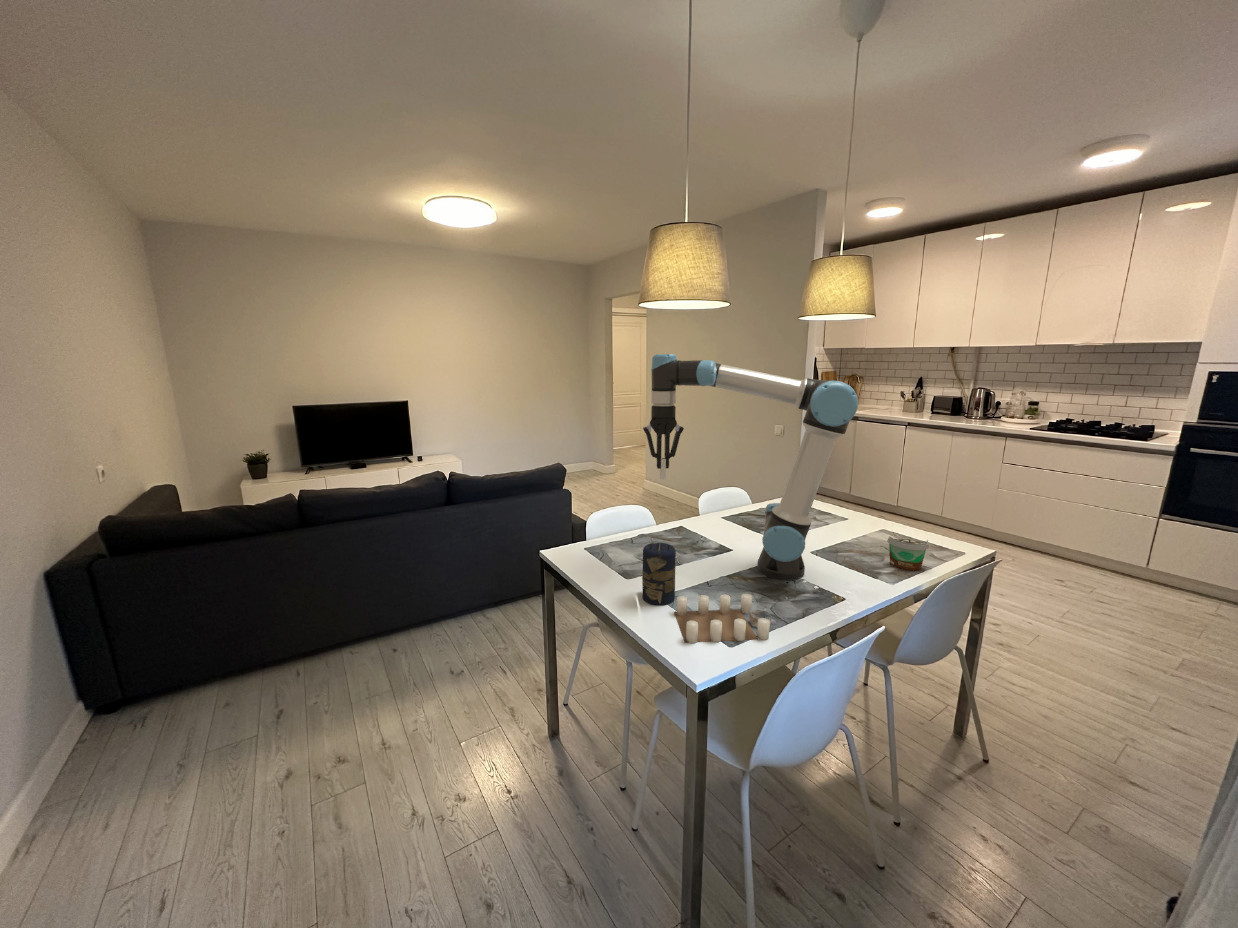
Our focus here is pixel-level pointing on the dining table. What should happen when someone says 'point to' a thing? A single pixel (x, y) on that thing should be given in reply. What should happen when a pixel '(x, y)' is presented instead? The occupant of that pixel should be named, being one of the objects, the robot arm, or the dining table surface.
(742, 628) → the spacers
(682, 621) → the board
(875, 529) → the dining table surface
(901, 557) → the food container
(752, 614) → the nut
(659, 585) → the canister
